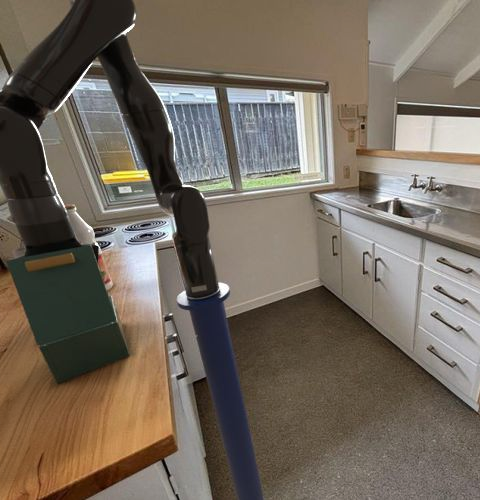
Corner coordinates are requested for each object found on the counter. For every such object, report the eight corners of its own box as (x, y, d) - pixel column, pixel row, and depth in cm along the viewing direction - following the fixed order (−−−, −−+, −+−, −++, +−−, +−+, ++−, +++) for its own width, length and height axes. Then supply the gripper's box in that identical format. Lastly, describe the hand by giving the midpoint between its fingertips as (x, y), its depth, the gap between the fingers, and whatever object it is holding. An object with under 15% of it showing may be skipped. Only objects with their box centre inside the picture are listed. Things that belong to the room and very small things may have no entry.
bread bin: (60, 345, 66) (45, 313, 63) (122, 325, 73) (111, 295, 70) (57, 384, 55) (39, 347, 52) (129, 355, 63) (117, 322, 60)
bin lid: (6, 260, 51) (-4, 258, 47) (91, 245, 58) (88, 242, 54) (38, 345, 52) (31, 350, 48) (116, 320, 60) (116, 322, 55)
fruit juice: (118, 281, 98) (90, 201, 88) (106, 294, 89) (74, 207, 80) (84, 286, 95) (52, 203, 85) (69, 299, 87) (31, 210, 77)
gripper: (89, 210, 63) (112, 278, 69) (-9, 221, 54) (28, 299, 60) (90, 215, 58) (115, 289, 64) (-18, 229, 49) (23, 313, 55)
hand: (73, 293), depth 62 cm, fingers closed on block, 4 cm apart
